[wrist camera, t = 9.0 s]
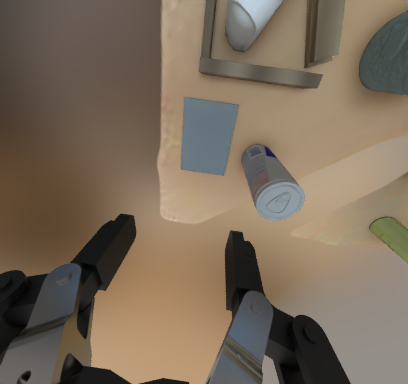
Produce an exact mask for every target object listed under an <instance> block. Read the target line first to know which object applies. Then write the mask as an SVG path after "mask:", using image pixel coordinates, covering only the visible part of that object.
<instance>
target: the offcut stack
mask: <svg viewBox="0 0 408 384" xmlns="http://www.w3.org/2000/svg"><path fill="white" fill-rule="evenodd" d="M344 7H345V0H308V5H307V25H306V45H305V66H304V68H306V67H309V66H313V65H316V64H320V63H323V62H327V61H330V60H332V56H335V55H338V53H339V45H340V37H341V30H342V22H343V14H344Z"/></svg>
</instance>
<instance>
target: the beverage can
mask: <svg viewBox="0 0 408 384" xmlns="http://www.w3.org/2000/svg"><path fill="white" fill-rule="evenodd" d="M242 164H243V168H244V171H245V174H246V178H247V181H248V185H249V188H250V191H251V195H252V198H253V201H254V205H255V207H256V209H257V211H258V213H259V214H260V215H261V216H262V217H264V218H266V219H269V220H282V219H286V218H288V217H291V216H292V215H294V214H295V213H296V212H298V211H299V210H300V208H301V207H302V205H303V203H304V199H305V195H304V192H303V190H302V188H301V187H300V186H299V184H298V183H297V182H296V181H295V179H294V178H293V177H292V176H291V175H290V173H289V172H288V171H287V170H286V169H285V167H284V166H283V165H282V164H281V162H280V161H279V160H278V159H277V158H276V156H275V155H274V154H273V153H272V152H271V150H270V149H269V148H268V147H266V146H264V145H253V146H251V147H249V148H248V149H247V150H246V151H245V152H244V154H243V156H242Z"/></svg>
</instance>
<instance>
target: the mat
mask: <svg viewBox="0 0 408 384" xmlns="http://www.w3.org/2000/svg"><path fill="white" fill-rule="evenodd" d="M237 110H238V105H234V104H227V103H220V102H213V101H206V100H199V99H192V98H185V97H184V115H183V136H182V156H181V169H182V170H188V171H195V172H202V173H209V174H215V175H222V176H224V173H225V168H226V163H227V158H228V154H229V149H230V144H231V139H232V134H233V129H234V125H235V120H236V115H237Z"/></svg>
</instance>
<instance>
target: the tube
mask: <svg viewBox="0 0 408 384" xmlns="http://www.w3.org/2000/svg"><path fill="white" fill-rule="evenodd" d="M370 230H371V231H372V232H373V233H374V234H375V235H376V236H377V237H378V238H379V239H380V240H381V241H383V242H384V243H385V244H386V245H387V246H388V247H389V248H390V249H392V250H393V251H394V252H395V253H396V254H397V255H399V256H400V257H401V258H402V259H403V260H404V261H406V262H407V263H408V229H407V228H406V227H405V226H403V225H402V224H401V223H399V222H398V221H397V220H396V219H394V218H390V217H385V218H381V219H378V220H376V221H375V222H374V223H372V225H371V227H370Z"/></svg>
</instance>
